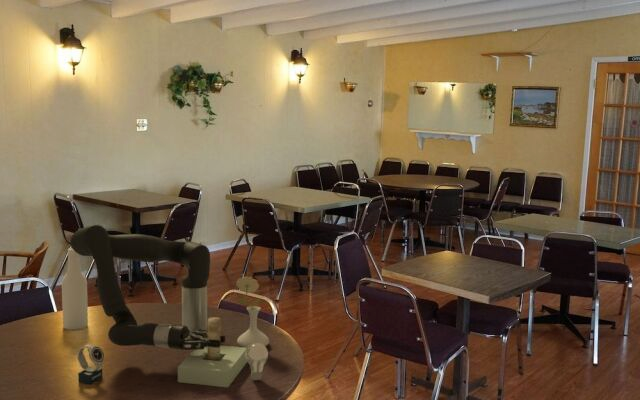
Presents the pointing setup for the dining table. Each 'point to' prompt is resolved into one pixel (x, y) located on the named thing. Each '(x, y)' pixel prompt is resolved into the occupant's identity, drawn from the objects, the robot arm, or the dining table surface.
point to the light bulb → (256, 359)
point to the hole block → (212, 367)
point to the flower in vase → (252, 333)
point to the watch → (90, 373)
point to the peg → (214, 338)
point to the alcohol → (74, 294)
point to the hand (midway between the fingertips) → (222, 341)
